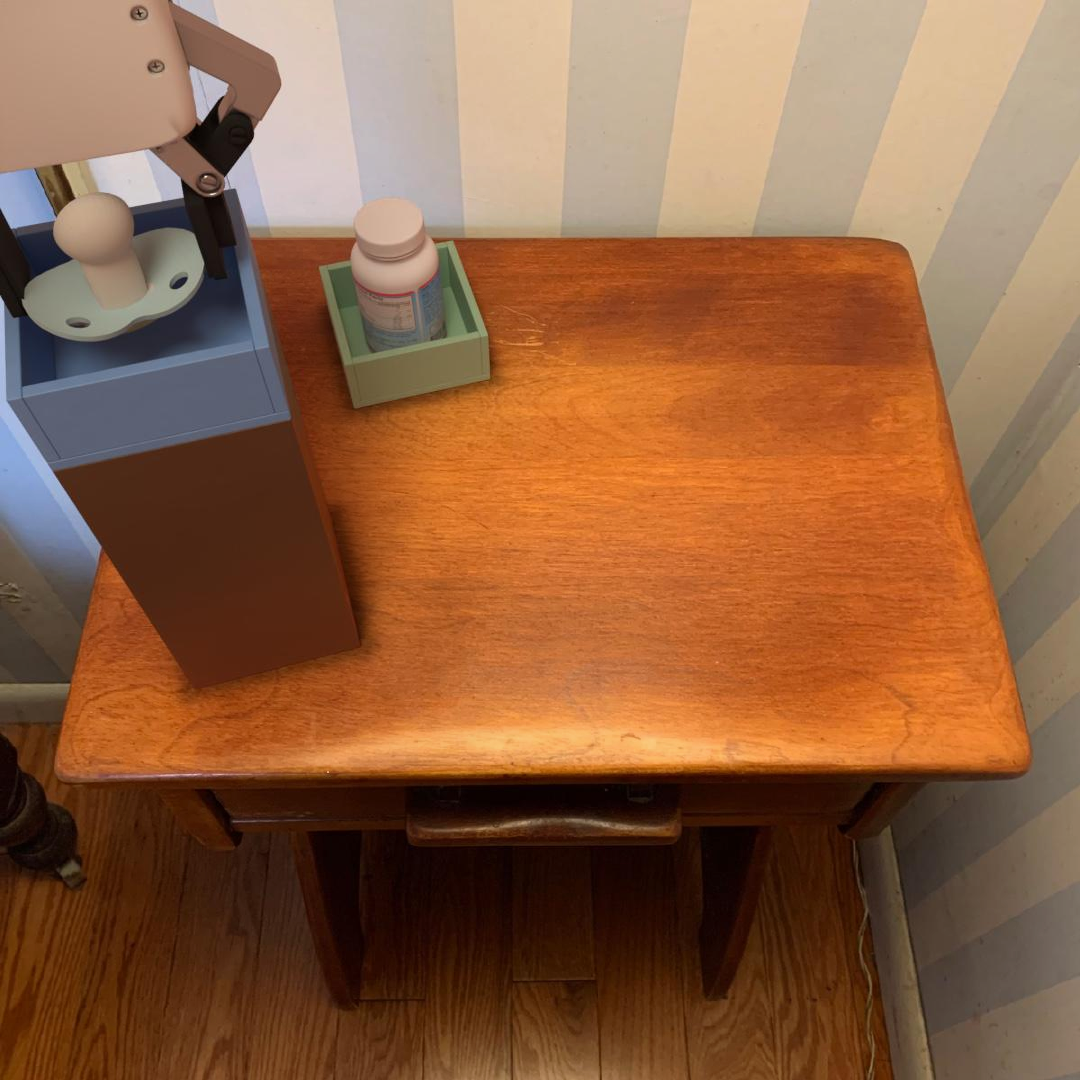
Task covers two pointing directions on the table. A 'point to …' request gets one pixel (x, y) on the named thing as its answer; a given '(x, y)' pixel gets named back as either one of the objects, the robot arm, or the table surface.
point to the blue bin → (191, 464)
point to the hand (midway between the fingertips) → (119, 273)
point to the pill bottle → (396, 276)
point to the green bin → (415, 364)
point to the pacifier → (111, 272)
